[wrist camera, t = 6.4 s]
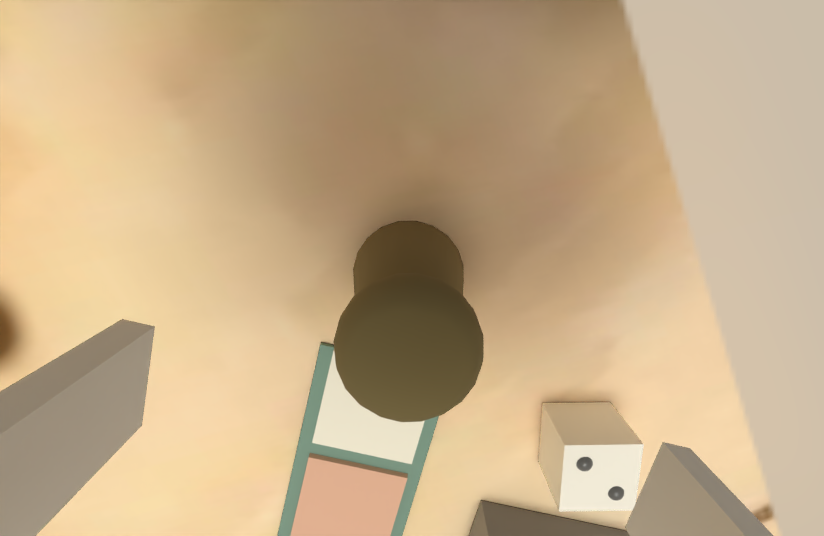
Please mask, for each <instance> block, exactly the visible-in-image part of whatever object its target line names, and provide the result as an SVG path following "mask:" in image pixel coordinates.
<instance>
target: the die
mask: <svg viewBox="0 0 824 536" xmlns="http://www.w3.org/2000/svg"><path fill="white" fill-rule="evenodd" d="M643 446H644V444H643V443H642V442H641V440H640V439H639V438H638V437H637V435H636V434H635V433H634V431H633V430H632V429H631V428H630V426H629V425H628V424H627V423H626V421H625V420H624V419H623V418H622V416H621V415H620V414H619V413H618V411H617V410H616V409H615V408H614V406H613V405H612V404H611V403H610V402H574V403H542V415H541V429H540V444H539V458H538V462H539V464H540V467H541V469H542V472H543V474H544V476H545V479H546V481H547V484H548V486H549V489H550V491H551V493H552V496H553V498H554V501H555V503H556V505H557V508H558V510H559V511H625V510H633V508H634V506H635V504H636V497H637V490H638V483H639V475H640V468H641V461H642V453H643Z"/></svg>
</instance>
